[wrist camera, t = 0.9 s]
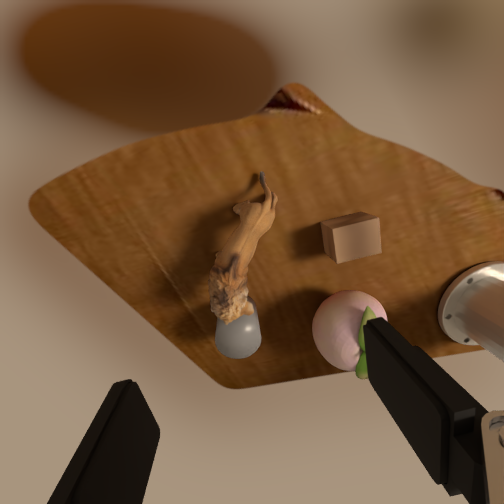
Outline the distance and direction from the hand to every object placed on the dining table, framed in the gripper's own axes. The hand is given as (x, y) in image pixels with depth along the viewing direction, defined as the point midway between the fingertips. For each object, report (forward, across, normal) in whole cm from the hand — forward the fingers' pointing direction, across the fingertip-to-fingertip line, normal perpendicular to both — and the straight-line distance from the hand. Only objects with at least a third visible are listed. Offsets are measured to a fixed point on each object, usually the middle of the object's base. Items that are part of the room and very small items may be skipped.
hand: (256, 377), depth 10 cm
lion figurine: (+21, 0, 0) cm, 21 cm away
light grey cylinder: (+21, +3, +9) cm, 23 cm away
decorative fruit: (+21, -10, +12) cm, 26 cm away
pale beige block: (+21, -12, +2) cm, 24 cm away
